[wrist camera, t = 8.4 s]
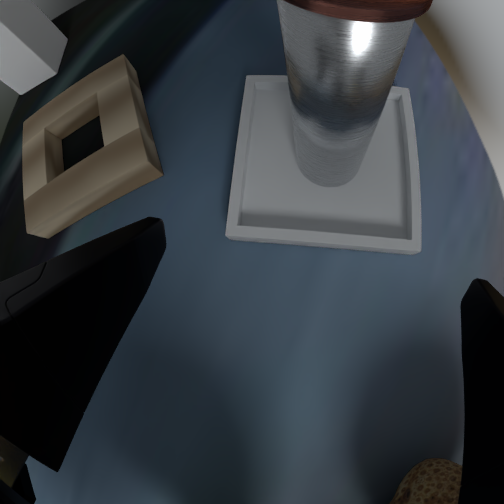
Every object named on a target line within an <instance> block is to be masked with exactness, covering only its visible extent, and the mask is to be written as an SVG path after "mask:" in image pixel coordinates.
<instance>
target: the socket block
mask: <svg viewBox="0 0 504 504" xmlns="http://www.w3.org/2000/svg"><path fill="white" fill-rule="evenodd" d="M99 115H100V122H101V129H102V135H103V141H104V147H103V148H101V149H100V150H98V151H96V152H95V153H93V154H91V155H90V156H88V157H87V158H85V159H83V160H82V161H80V162H79V163H77V164H75V165H74V166H72V167H71V168H69V169H68V170H66V171H65V172H64V164H63V153H62V139H64V138H65V137H67V136H68V135H70V134H71V133H73V132H74V131H76V130H77V129H79V128H80V127H82V126H83V125H85V124H86V123H88V122H89V121H91V120H93V119H94V118H96V117H97V116H99ZM161 176H163V171H162V168H161V164H160V161H159V157H158V154H157V150H156V146H155V143H154V139H153V136H152V132H151V128H150V124H149V121H148V117H147V113H146V109H145V105H144V101H143V97H142V93H141V89H140V85H139V81H138V77H137V72H136V70H135V69H134V68H133V66H132V65H131V64H130V62H129V61H128V60H127V58H126V57H125V56H124V54H123V55H121V56H119V57H117V58H116V59H114V60H112V61H110V62H109V63H107V64H105V65H104V66H102V67H100V68H99V69H97V70H95V71H94V72H92V73H91V74H89V75H88V76H86V77H84V78H83V79H81V80H80V81H78V82H77V83H75V84H74V85H72V86H71V87H69V88H68V89H67V90H65V91H64V92H62V93H61V94H60V95H58V96H57V97H55V98H54V99H53V100H51V101H50V102H49V103H47V104H46V105H45V106H43V107H42V108H41V109H40V110H38V111H37V112H36V113H34V114H33V115H32V116H31V117H30V118H28V119H27V120H26V121H25V122H24V123H23V193H24V208H25V220H26V229H27V233H29V234H32V235H36V236H40V237H44V238H50V237H52V236H53V235H55V234H56V233H58V232H60V231H61V230H63V229H65V228H66V227H68V226H70V225H71V224H73V223H75V222H77V221H78V220H80V219H82V218H83V217H85V216H87V215H89V214H90V213H92V212H94V211H96V210H98V209H99V208H101V207H103V206H105V205H107V204H108V203H110V202H112V201H114V200H116V199H118V198H120V197H121V196H123V195H125V194H127V193H129V192H131V191H133V190H135V189H137V188H139V187H141V186H143V185H145V184H147V183H149V182H151V181H153V180H155V179H157V178H159V177H161Z"/></svg>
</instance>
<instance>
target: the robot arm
mask: <svg viewBox="0 0 504 504" xmlns="http://www.w3.org/2000/svg"><path fill="white" fill-rule="evenodd" d="M165 249H166V237H165V229H164V222H163V220H162V219H160V218H155V217H147V218H144V219H142V220H139V221H137V222H134V223H132V224H130V225H127V226H125V227H122V228H120V229H118V230H115V231H113V232H110V233H108V234H106V235H103V236H101V237H99V238H97V239H94V240H92V241H90V242H87V243H85V244H83V245H81V246H78V247H76V248H74V249H72V250H70V251H67V252H65V253H63V254H61V255H59V256H57V257H54V258H52V259H50V260H48V261H47V262H44V263H42V264H39V265H37V266H35V267H33V268H31V269H29V270H27V271H25V272H23V273H20V274H18V275H16V276H14V277H11V278H9V279H7V280H4V281H2V282H0V504H34V503H35V501H36V497H35V494H34V491H33V487H32V484H31V480H30V476H29V472H28V468H27V465H26V464H25V462H26V460H27V458H28V456H31V457H32V458H34V459H36V460H37V461H39V462H40V463H42V464H44V465H45V466H47V467H49V468H51V469H52V470H54V471H56V472H58V471H59V469H60V467H61V465H62V462H63V460H64V458H65V455H66V453H67V451H68V448H69V446H70V444H71V441H72V439H73V437H74V435H75V432H76V430H77V428H78V426H79V424H80V421H81V419H82V417H83V415H84V413H83V412H85V410H86V408H87V406H88V404H89V402H90V400H91V398H92V395H93V393H94V391H95V389H96V387H97V385H98V383H99V381H100V379H101V377H102V375H103V373H104V371H105V369H106V367H107V365H108V363H109V361H110V359H111V357H112V355H113V353H114V352H115V350H116V348H117V346H118V344H119V342H120V340H121V338H122V336H123V334H124V333H125V331H126V329H127V327H128V325H129V323H130V321H131V320H132V318H133V316H134V314H135V312H136V311H137V309H138V307H139V305H140V303H141V302H142V300H143V298H144V296H145V294H146V292H147V290H148V288H149V286H150V284H151V281H152V279H153V277H154V274H155V272H156V270H157V268H158V265H159V263H160V261H161V259H162V256H163V254H164V252H165ZM461 335H462V363H463V378H464V408H465V421H464V450H463V465H462V475H461V486H460V491H459V499H458V504H504V297H503V296H502V295H501V294H500V293H499V292H498V291H497V290H496V289H495V288H494V287H493V286H492V285H491V284H490V283H489V282H488V281H486V280H483V279H478V278H476V279H474V280H473V281H472V283H471V284H470V286H469V288H468V290H467V291H466V293H465V295H464V297H463V298H462V301H461Z"/></svg>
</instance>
